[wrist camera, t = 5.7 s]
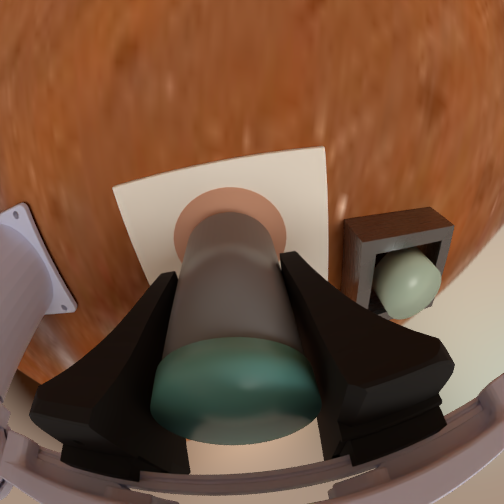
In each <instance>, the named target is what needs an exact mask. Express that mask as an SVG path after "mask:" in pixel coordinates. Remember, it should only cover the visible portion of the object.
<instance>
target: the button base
mask: <svg viewBox="0 0 504 504" xmlns="http://www.w3.org/2000/svg"><path fill="white" fill-rule="evenodd" d="M453 230H454V225H453V224H452V223H451V222H449V221H448V220H447V219H446V218H444V217H443V216H442V215H440V214H439V213H438V212H436V211H435V210H434V209H432V208H431V207H428V208H420V209H413V210H406V211H399V212H392V213H385V214H378V215H371V216H365V217H358V218H351V219H345V220H344V243H343V266H342V283H341V292H342V293H343V294H344V295H346V296H347V297H348V298H350V299H351V300H353V301H355V302H356V303H358V304H359V305H361V306H362V307H364V308H366V309H368V310H369V311H371V312H373V313H375V314H377V315H379V316H381V317H383V318H385V319H387V320H390V319H393V318H392V317H390V316H389V314H388V313H387V311H386V309H385V308H384V306H383V304H382V303H381V301H380V299H379V298H378V296H377V295H376V293H375V291H374V290H373V287H372V281H373V274H374V267H375V259H376V254H380V253H385V252H390V251H394V250H399V249H404V248H409V247H414V246H415V247H417V248H418V249H419V250H420V251H421V252H422V253H423V254H424V255H425V256H426V257H427V258H428V259H429V260H430V261H431V262H432V263H433V265H434V266H435V267H436V268H437V269H438V270H439V272H440V274H441V276H442V273H443V269H444V266H445V262H446V259H447V255H448V251H449V247H450V243H451V239H452V234H453ZM434 298H435V297H434ZM433 301H434V299H433V300H432V301H431V302H430V304H429V305H428V306H427V307H425V308H428V307H431V306H432V303H433ZM425 308H424V309H425Z"/></svg>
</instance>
